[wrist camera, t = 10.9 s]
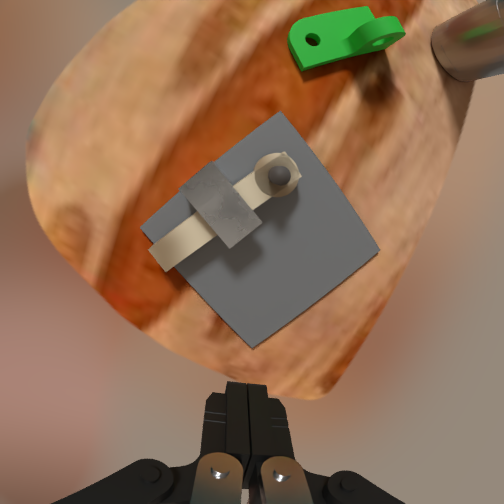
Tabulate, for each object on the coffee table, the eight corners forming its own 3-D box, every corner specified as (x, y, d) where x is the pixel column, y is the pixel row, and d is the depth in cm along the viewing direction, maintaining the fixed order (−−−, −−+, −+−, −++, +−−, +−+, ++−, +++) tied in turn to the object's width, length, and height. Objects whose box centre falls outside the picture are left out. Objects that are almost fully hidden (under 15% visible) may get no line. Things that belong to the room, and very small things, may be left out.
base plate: (279, 112, 32) (280, 110, 31) (376, 248, 37) (380, 250, 36) (142, 225, 34) (139, 227, 33) (251, 344, 39) (251, 348, 38)
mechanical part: (361, 12, 29) (387, -15, 21) (383, 50, 30) (414, 29, 23) (278, 31, 29) (289, 0, 22) (300, 72, 31) (318, 49, 23)
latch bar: (279, 145, 31) (287, 142, 27) (302, 180, 33) (314, 182, 28) (149, 239, 33) (136, 251, 28) (173, 270, 34) (165, 286, 30)
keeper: (214, 161, 32) (211, 160, 28) (258, 215, 34) (262, 222, 29) (185, 185, 32) (178, 188, 28) (230, 238, 34) (229, 248, 30)
